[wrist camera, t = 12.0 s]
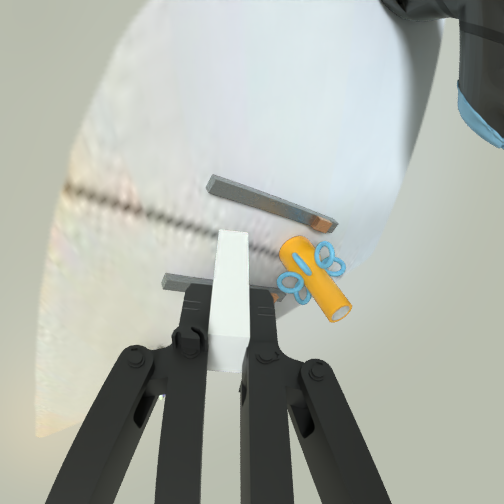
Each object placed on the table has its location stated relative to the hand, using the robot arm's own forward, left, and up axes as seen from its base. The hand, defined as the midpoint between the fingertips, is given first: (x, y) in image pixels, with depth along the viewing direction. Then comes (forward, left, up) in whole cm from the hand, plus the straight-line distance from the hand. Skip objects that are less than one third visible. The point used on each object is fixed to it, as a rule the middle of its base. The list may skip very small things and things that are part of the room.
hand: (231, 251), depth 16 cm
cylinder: (-14, +26, -22) cm, 36 cm away
